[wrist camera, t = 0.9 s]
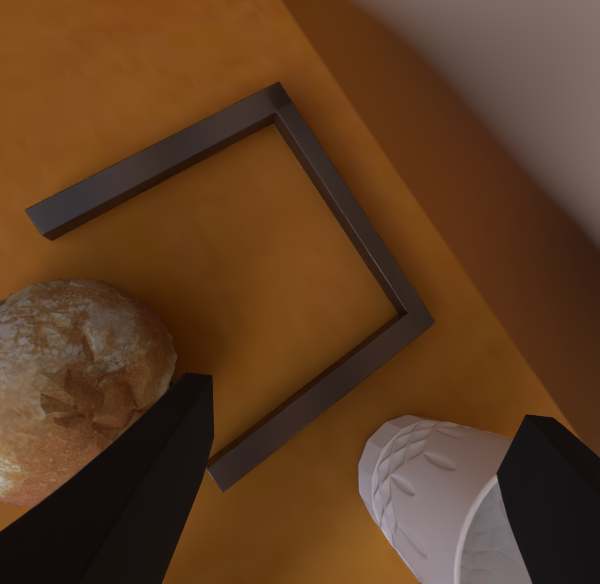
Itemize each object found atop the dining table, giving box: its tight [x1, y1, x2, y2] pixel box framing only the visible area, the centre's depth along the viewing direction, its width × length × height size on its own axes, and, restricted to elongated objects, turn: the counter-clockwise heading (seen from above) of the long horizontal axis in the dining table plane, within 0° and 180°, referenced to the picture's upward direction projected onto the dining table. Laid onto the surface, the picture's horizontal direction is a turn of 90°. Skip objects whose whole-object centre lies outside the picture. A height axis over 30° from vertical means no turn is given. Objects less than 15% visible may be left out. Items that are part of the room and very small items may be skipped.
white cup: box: [358, 414, 532, 584], centre depth 19 cm, size 8×8×10 cm
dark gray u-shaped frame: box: [25, 82, 435, 492], centre depth 22 cm, size 15×17×1 cm
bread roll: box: [0, 279, 178, 506], centre depth 18 cm, size 10×10×8 cm
